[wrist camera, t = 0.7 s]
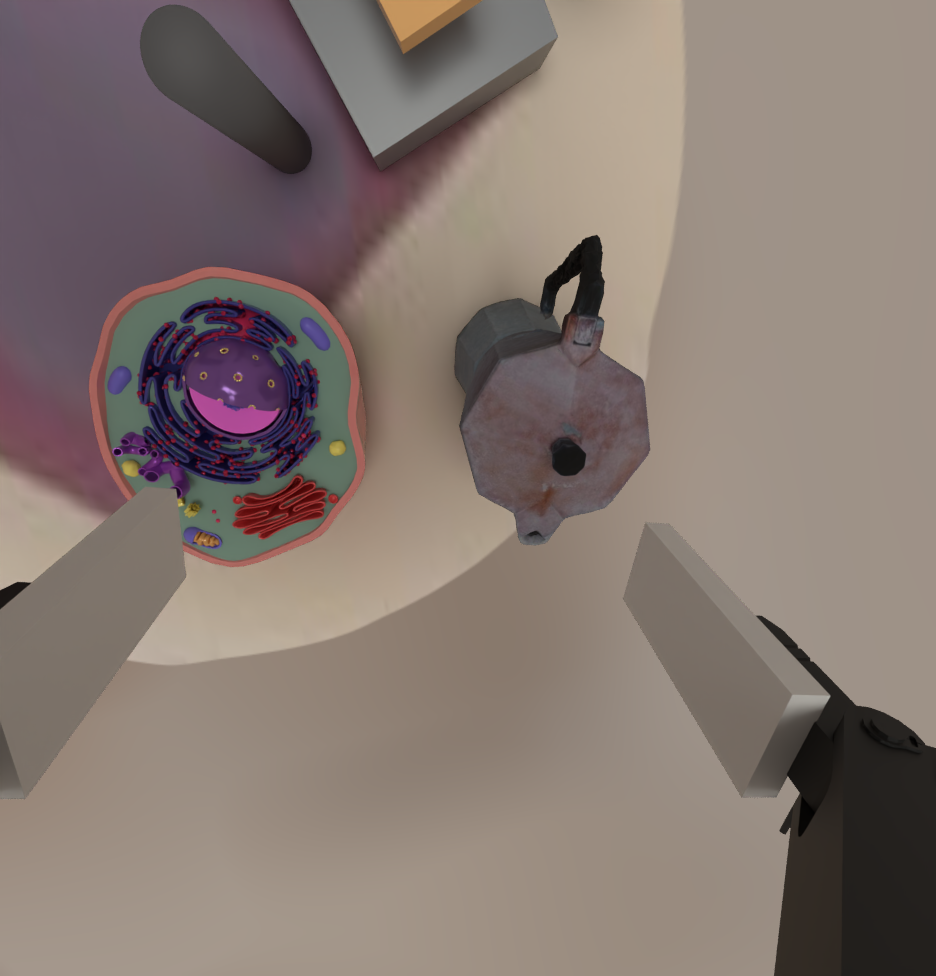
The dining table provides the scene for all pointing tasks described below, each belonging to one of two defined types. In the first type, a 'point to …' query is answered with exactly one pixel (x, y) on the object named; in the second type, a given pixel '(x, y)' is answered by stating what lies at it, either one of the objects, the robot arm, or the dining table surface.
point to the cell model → (231, 410)
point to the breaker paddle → (420, 18)
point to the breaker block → (423, 66)
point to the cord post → (220, 87)
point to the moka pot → (549, 404)
